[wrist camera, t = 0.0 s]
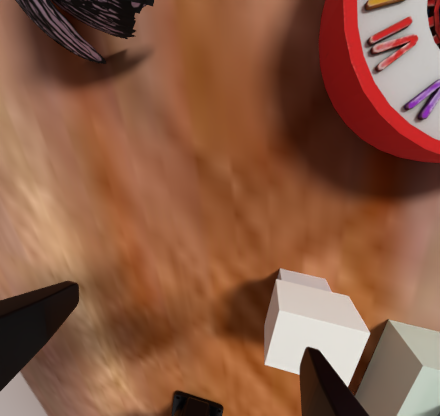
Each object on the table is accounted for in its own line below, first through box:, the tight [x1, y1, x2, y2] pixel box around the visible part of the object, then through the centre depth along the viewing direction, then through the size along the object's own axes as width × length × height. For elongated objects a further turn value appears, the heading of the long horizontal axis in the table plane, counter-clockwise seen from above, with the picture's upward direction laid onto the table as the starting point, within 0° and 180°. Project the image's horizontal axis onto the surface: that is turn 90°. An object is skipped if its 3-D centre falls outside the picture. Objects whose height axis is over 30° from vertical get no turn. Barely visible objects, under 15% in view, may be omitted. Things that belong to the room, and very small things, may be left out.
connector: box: [264, 269, 370, 387], centre depth 20 cm, size 5×6×8 cm
